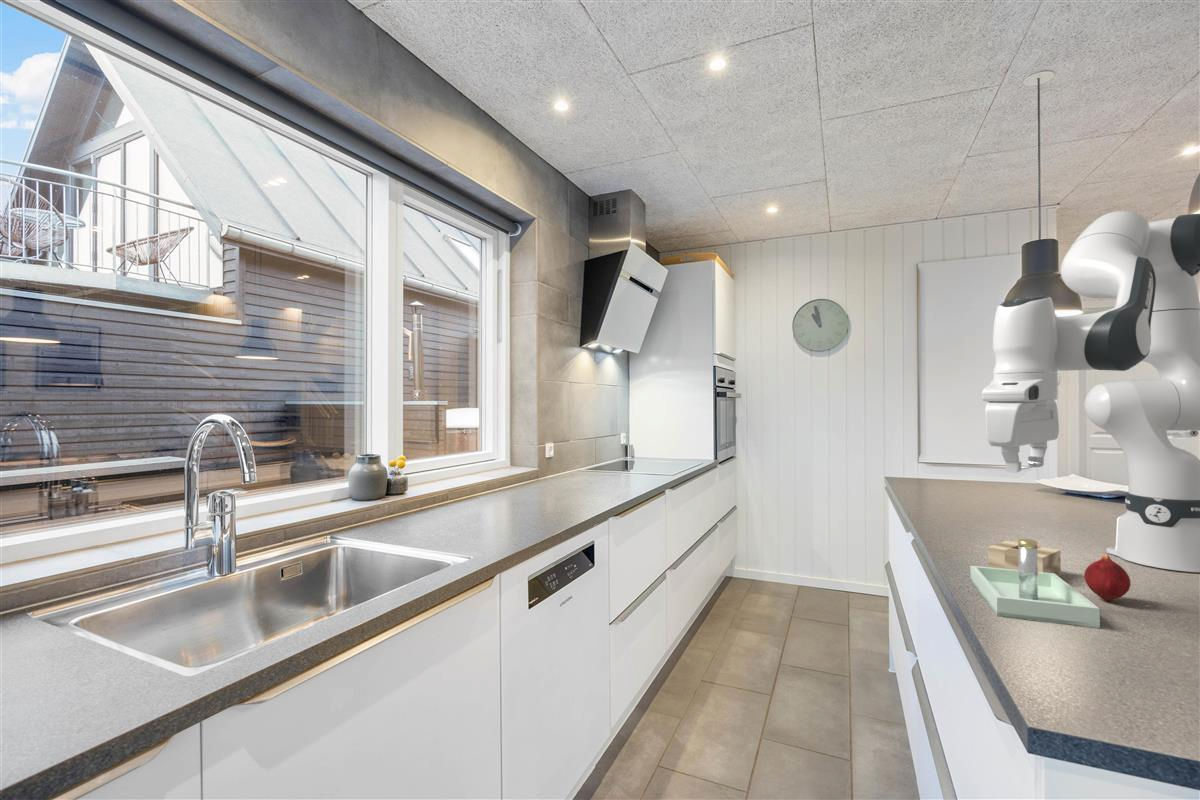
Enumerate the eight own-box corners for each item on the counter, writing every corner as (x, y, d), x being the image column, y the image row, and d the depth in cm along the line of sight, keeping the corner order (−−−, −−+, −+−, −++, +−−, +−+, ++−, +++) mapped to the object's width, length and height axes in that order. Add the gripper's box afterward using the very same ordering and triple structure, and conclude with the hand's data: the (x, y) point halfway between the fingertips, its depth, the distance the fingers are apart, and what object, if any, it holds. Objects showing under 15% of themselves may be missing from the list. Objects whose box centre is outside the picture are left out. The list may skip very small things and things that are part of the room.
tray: (970, 581, 104) (970, 565, 104) (1054, 589, 99) (1054, 573, 99) (997, 615, 87) (996, 597, 87) (1099, 628, 82) (1099, 608, 82)
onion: (1140, 608, 89) (1139, 560, 90) (1099, 606, 91) (1099, 559, 91) (1114, 595, 95) (1113, 551, 95) (1076, 594, 96) (1076, 549, 96)
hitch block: (1007, 563, 114) (1007, 540, 114) (1060, 575, 107) (1060, 550, 107) (988, 571, 109) (988, 547, 109) (1042, 584, 102) (1042, 557, 102)
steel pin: (1022, 594, 95) (1021, 538, 95) (1040, 599, 93) (1039, 541, 93) (1016, 597, 93) (1015, 540, 93) (1034, 602, 91) (1033, 543, 91)
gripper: (1027, 389, 101) (1027, 462, 101) (976, 391, 90) (977, 473, 91) (1069, 388, 96) (1070, 465, 96) (1021, 390, 85) (1022, 477, 85)
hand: (1025, 469), depth 93 cm, fingers open, 8 cm apart
